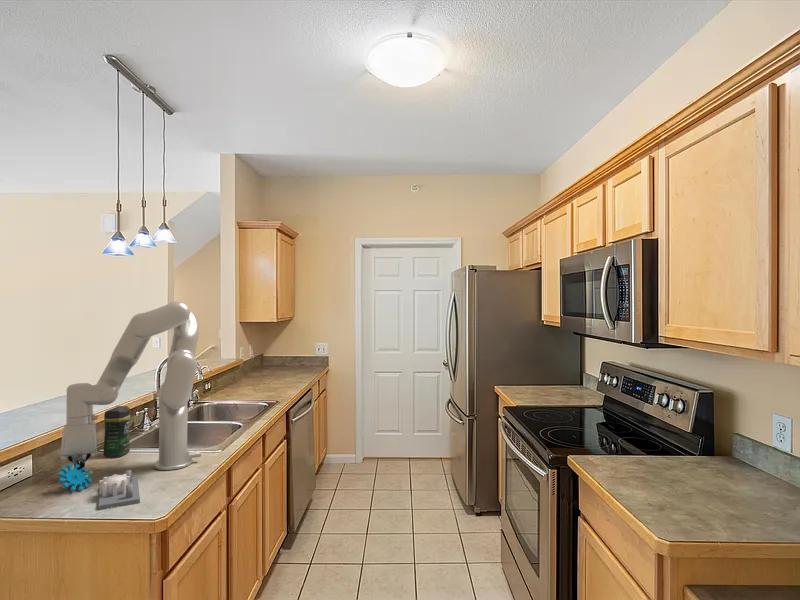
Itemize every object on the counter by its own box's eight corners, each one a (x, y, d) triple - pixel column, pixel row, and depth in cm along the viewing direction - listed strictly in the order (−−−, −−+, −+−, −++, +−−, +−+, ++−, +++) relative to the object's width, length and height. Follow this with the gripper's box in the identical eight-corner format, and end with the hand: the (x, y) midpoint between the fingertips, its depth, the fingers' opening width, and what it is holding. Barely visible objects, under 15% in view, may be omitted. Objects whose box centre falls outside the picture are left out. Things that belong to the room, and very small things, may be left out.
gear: (67, 491, 151) (55, 465, 155) (56, 503, 152) (44, 477, 156) (100, 484, 162) (88, 459, 165) (90, 495, 163) (78, 470, 166)
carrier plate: (137, 481, 165) (137, 465, 165) (139, 502, 148) (139, 485, 148) (100, 487, 160) (100, 470, 160) (98, 510, 142) (98, 492, 142)
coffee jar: (122, 458, 188) (122, 409, 188) (100, 458, 188) (100, 410, 188) (133, 450, 198) (133, 404, 198) (112, 450, 197) (112, 404, 197)
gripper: (105, 415, 174) (105, 467, 174) (54, 420, 167) (53, 474, 167) (105, 420, 168) (104, 474, 168) (51, 425, 160) (51, 481, 161)
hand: (79, 474), depth 167 cm, fingers closed
